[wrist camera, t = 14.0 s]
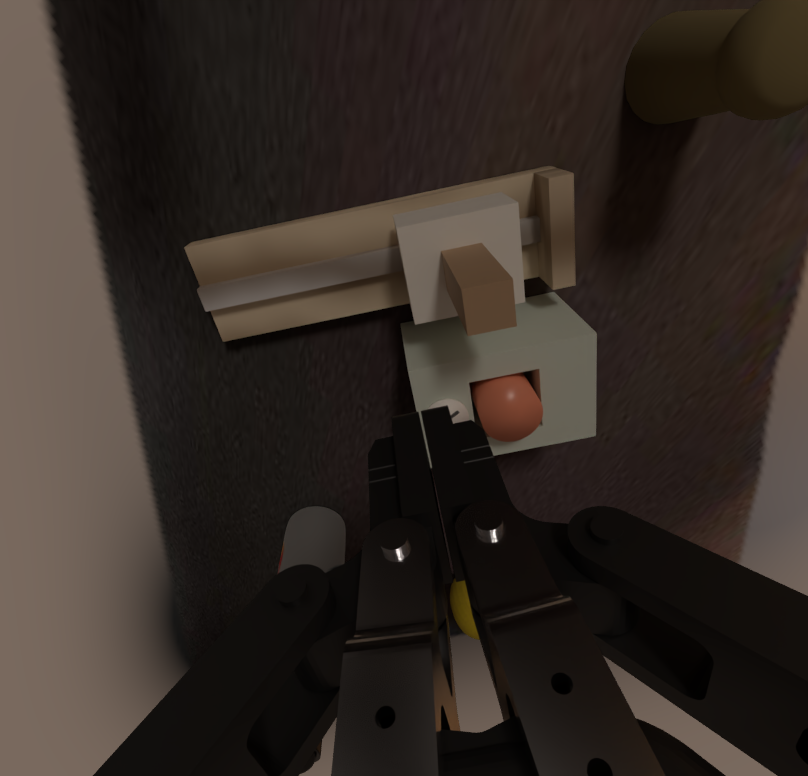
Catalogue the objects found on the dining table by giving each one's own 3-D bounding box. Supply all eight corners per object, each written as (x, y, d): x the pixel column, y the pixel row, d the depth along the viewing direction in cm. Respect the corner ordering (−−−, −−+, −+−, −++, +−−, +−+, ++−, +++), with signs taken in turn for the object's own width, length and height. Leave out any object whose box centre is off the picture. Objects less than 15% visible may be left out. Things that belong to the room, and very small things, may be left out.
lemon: (503, 575, 53) (524, 645, 46) (455, 592, 54) (469, 663, 47) (486, 543, 51) (505, 612, 44) (436, 561, 51) (448, 631, 44)
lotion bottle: (297, 551, 49) (260, 792, 32) (279, 510, 46) (227, 750, 29) (352, 541, 49) (345, 777, 32) (337, 499, 46) (321, 733, 29)
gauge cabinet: (400, 323, 38) (408, 374, 31) (553, 292, 38) (599, 335, 30) (418, 408, 42) (429, 471, 35) (557, 381, 42) (598, 439, 34)
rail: (191, 242, 34) (168, 259, 30) (548, 165, 33) (573, 173, 29) (227, 333, 37) (212, 359, 34) (552, 266, 37) (575, 285, 33)
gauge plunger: (461, 354, 36) (478, 396, 31) (515, 343, 36) (541, 383, 31) (468, 400, 38) (485, 447, 33) (519, 390, 38) (544, 435, 33)
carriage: (392, 215, 31) (405, 261, 22) (501, 191, 31) (561, 228, 22) (409, 302, 34) (427, 377, 25) (508, 282, 34) (565, 349, 24)
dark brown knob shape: (641, 144, 33) (754, 158, 23) (611, 50, 30) (725, 23, 21) (730, 89, 32) (888, 80, 22) (707, -14, 29) (876, -75, 19)
